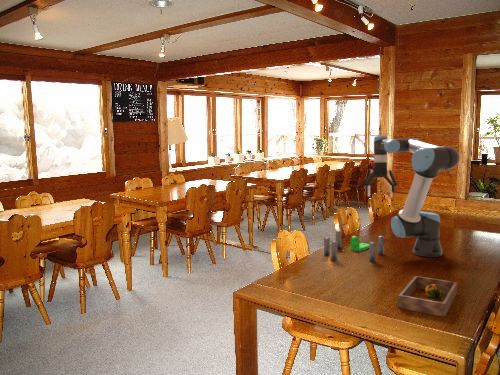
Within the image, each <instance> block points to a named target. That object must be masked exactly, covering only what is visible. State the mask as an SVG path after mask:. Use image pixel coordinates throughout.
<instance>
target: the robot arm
mask: <svg viewBox="0 0 500 375" xmlns="http://www.w3.org/2000/svg"><path fill="white" fill-rule="evenodd" d="M405 152H406V153H412V156H411V162H412V163H411V167H412V169H413V171H414V176H413V179H412V182H411V185H410V187H409V191H408V194H407V197H406V200H405V203H404V206H403V207H402V209H400V210H399V211H398V213H397V215H395V216H393V217H391V219H390V227H391V230H392V233H393V234H394V236H396V237H397V238H412V237H414V238H415V237H416V240H415V242H414V246H413V248H412V253H413V254H414V255H416V256H419V257H424V258H437V257H442V256H443V248H442V246H441V242H440V233H441V232H440V228H441V225H440V224H441V216H440V214H438V213H436V212H432V211H431V212H430V211H423V210H422V209H423V206H424V203H425V201H426V198H427V195H428V192H429V191H430V187H431V185H432V182H433V179H436V178H437V177H438V176H439V173H440V171H449V170H452V169H454V168H456V167H457V166H458V165H459V163H460V159H461V157H460V153H459V151H458V150H457V149H456V148H455V147H452V146H448V145H443V146H439V145H436V144H431V143H427V142H424V141H421V140H420V139H419V138H416V137H415V138H414V137H413V138H388V136H387V135H376V136H374V139H373V169H369V170H368V171H367V172H368V173H367V174H366V176H365V179H364V181H363V182H362V184H363V186H365V190H366V192H367V197H371V183H372V182H373V181H374V180H375V179H376V178H384V179H385V181H387V183H388V184H389V185H390V187H389V190H390V191H389V198H390V199H392V198H393V197H394V195H393V194H394V193H395V187H396V186H398V185H399V184H398V182H397V180H396V178H395V176H394V172H393V170H392V169H390V170H389V169H388V162H387V161H388V153H390V154H391V153H405ZM372 174H373V176H372V177H371V175H372ZM388 174H389V176H390V177H389V176H388ZM370 177H371V178H370ZM369 179H370V180H369Z"/></svg>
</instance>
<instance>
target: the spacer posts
mask: <svg viewBox="0 0 500 375" xmlns="http://www.w3.org/2000/svg"><path fill="white" fill-rule="evenodd" d="M330 243H331V244H330ZM368 244H369V249H368V251H369V252H368V261H369V262H371V263H372V262H373V263H375V262H376V251H377V254H378V255H380V256H381V255H382V256H383V255H385V235H378V236H377V243H376V242H375V241H369V243H368ZM376 244H377V250H376ZM338 249H342V231H341V230H335V240H332V241H331V238H330V237H328V236H325V237H323V256H324V257H330V256H331V259H330V260H331V261H333V262H335V261H338ZM330 251H331V252H330Z"/></svg>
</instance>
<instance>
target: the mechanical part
mask: <svg viewBox="0 0 500 375" xmlns="http://www.w3.org/2000/svg"><path fill="white" fill-rule="evenodd" d="M368 248H369V243H365V242H361V243H360V237H359V236H356V235H352V236H351V238H350V250H351V251H355V252H360V253H361V252H362V251H366V250H369V249H368Z"/></svg>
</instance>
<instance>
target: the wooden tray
mask: <svg viewBox="0 0 500 375" xmlns="http://www.w3.org/2000/svg"><path fill="white" fill-rule="evenodd" d="M426 281H427V282H428V284H435V285H436V283H437V285H439V286H438V287H440V288H441V287H442V288H441V289H442V290H444V291H443V292H444V293H445V294H446V296H445V300H444V299H443V300H444V301H440V302H437V301H432V300H430V299H427V298H420V297H413V296H412V295H413V293H414V292H415V291H416V289H420V290H421V289H422V290H425V289H426V287H427V286H428V284H427V282H426ZM441 289H440V290H441ZM457 289H458V282H457V281H452V280H451V281H450V280H445V279H438V278H433V277H432V278H431V277H426V276H419V275H415V276H413V278H411V280H410V281H409V282H408V283H407V285H406V286H405V287H404V288H403V289H402V291H401V292H400V293H399V294H398V302H397V303H398V305H397V306H398V307H397V308H398V309H404V310H408V311H412V312H413V311H414V312H419V313H424V314H429V315H434V316H439V317H443V318H444V317H446V315H447V313H448V311H449V310H450V308H451V305H452V303H453V302H454V300H455V299H456V296H457V293H458V290H457ZM446 291H447V292H446ZM442 302H443V303H442Z"/></svg>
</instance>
